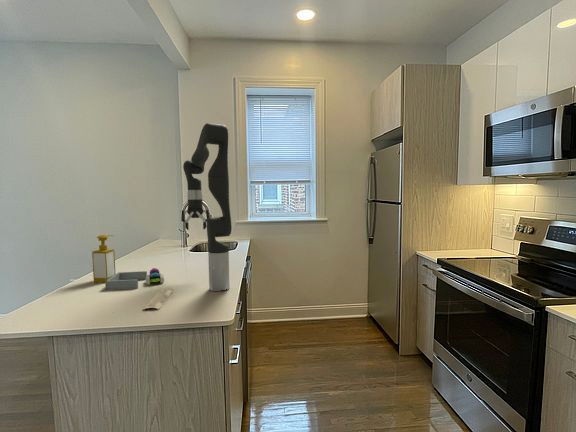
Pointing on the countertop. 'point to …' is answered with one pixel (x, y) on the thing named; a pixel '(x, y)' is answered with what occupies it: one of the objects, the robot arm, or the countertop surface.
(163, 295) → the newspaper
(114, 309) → the countertop surface
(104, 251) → the soap bottle
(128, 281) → the tray
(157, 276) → the rainbow striped dome
